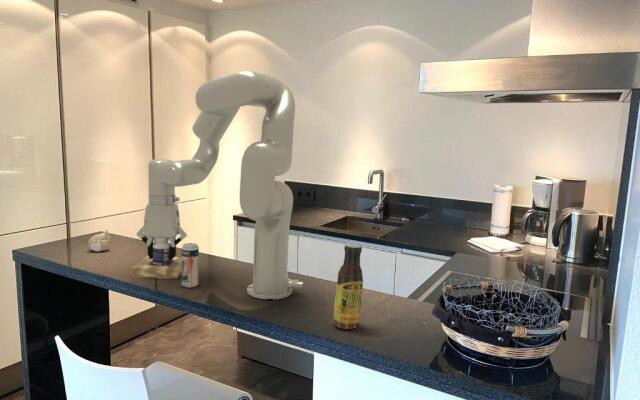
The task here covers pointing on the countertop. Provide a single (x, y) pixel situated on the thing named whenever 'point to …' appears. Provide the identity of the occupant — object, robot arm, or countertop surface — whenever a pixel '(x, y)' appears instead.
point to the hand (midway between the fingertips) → (161, 257)
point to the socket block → (157, 269)
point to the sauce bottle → (349, 289)
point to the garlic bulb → (100, 242)
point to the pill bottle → (161, 252)
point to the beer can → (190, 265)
